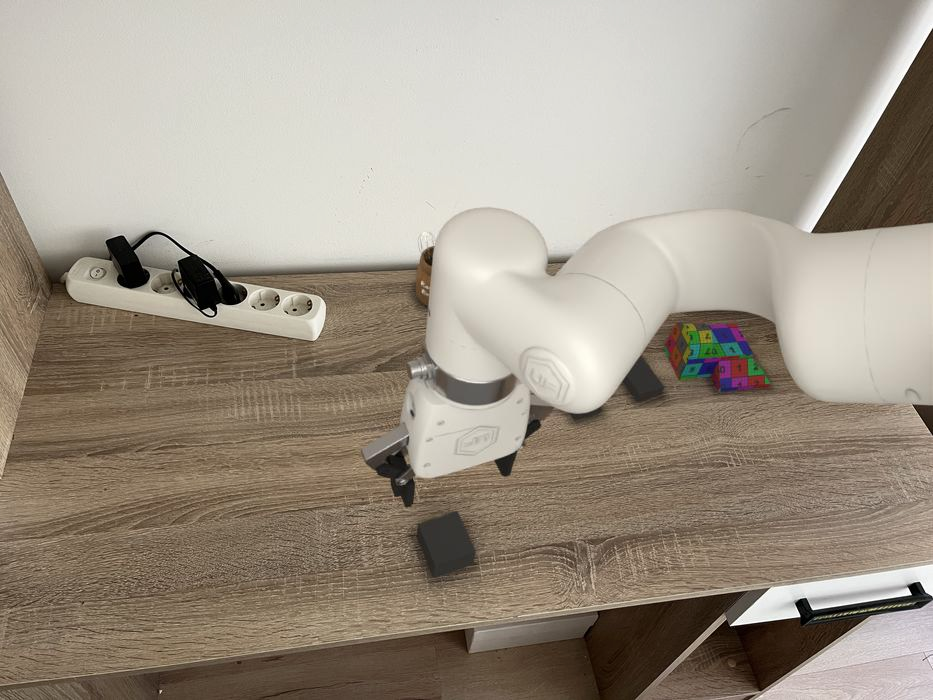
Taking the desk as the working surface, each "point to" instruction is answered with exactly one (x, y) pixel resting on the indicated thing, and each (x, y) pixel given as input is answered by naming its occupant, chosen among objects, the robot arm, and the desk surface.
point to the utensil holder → (424, 273)
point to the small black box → (445, 544)
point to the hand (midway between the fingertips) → (452, 478)
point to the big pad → (635, 385)
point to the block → (714, 355)
